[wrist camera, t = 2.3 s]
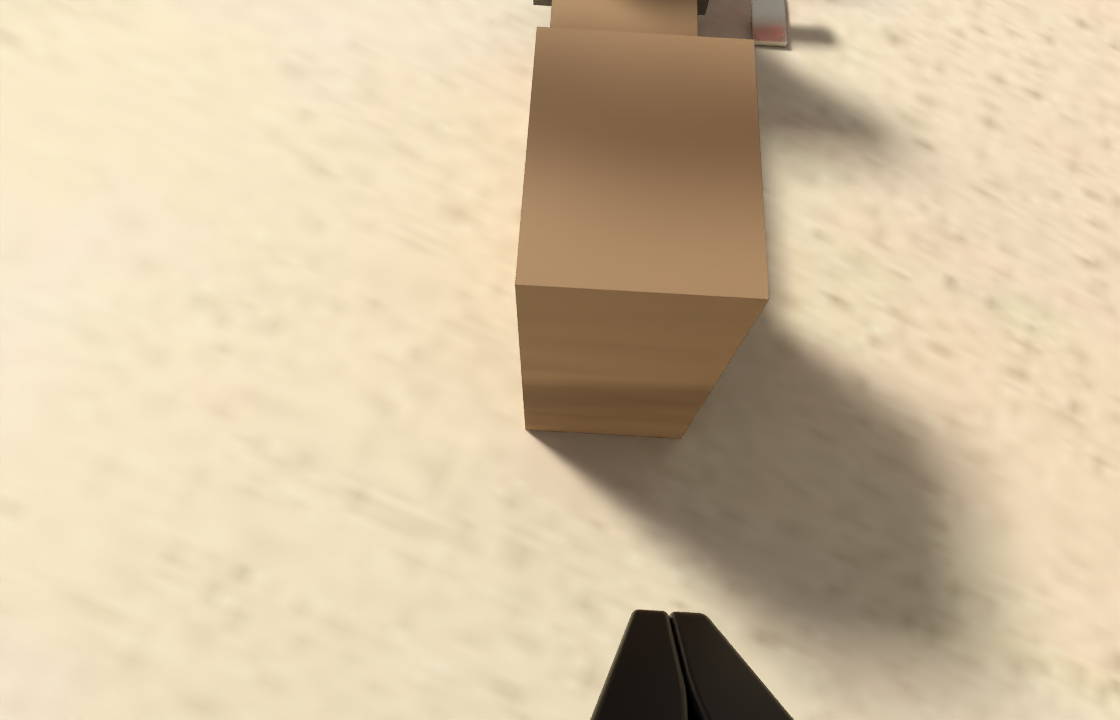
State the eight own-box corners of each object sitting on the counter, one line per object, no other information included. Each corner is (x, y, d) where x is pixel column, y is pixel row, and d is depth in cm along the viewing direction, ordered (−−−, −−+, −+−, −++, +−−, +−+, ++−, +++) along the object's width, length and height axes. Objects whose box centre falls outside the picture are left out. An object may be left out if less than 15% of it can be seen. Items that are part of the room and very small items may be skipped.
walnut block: (680, 438, 22) (768, 299, 13) (525, 429, 22) (514, 284, 13) (677, 62, 27) (739, -209, 18) (552, 55, 27) (557, -220, 18)
